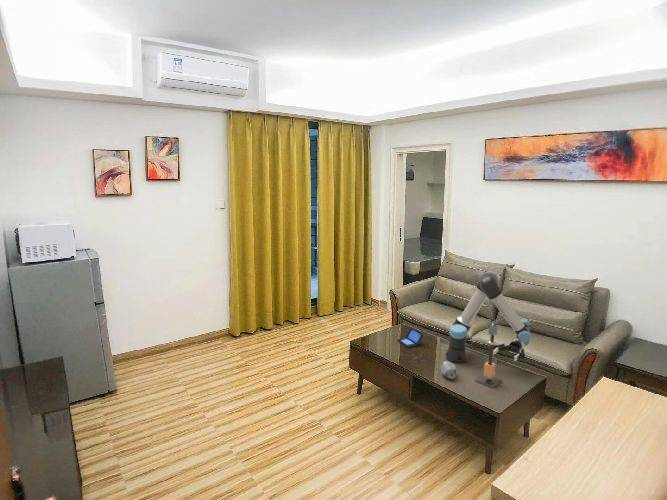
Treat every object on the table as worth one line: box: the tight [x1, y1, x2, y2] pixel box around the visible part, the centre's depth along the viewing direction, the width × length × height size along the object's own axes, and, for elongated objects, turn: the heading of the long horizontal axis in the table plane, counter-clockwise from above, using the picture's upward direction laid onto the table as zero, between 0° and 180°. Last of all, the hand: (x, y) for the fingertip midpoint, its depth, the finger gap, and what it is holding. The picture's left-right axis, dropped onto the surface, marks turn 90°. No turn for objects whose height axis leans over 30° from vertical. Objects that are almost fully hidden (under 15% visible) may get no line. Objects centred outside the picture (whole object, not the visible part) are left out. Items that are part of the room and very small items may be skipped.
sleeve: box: [482, 361, 496, 378], centre depth 259 cm, size 5×5×8 cm
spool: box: [440, 360, 457, 380], centre depth 267 cm, size 14×10×10 cm
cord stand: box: [474, 322, 503, 389], centre depth 257 cm, size 12×12×39 cm
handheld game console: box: [397, 327, 424, 349], centre depth 316 cm, size 16×13×9 cm
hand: (504, 355), depth 264 cm, fingers open, 13 cm apart
